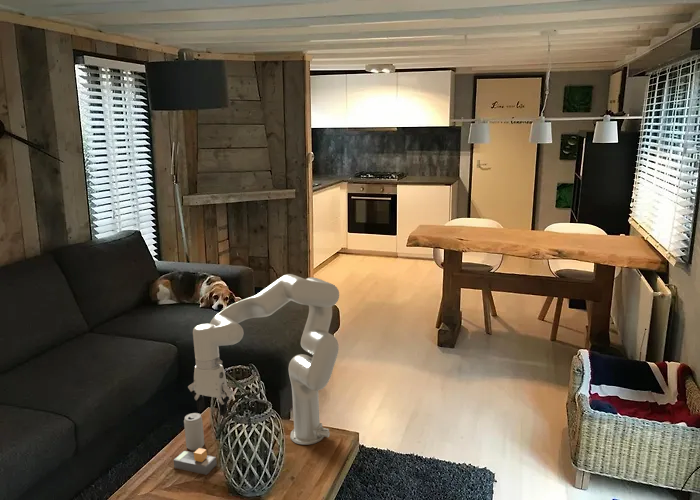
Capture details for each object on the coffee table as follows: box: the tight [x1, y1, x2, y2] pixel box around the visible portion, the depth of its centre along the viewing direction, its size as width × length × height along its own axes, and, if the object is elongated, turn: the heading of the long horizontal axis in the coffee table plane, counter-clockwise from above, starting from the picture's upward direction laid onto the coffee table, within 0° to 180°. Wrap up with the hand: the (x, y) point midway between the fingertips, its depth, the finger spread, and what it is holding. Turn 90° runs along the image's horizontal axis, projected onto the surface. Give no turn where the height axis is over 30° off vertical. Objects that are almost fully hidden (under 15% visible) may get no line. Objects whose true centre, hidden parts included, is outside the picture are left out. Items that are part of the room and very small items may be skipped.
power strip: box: [173, 450, 218, 476], centre depth 194 cm, size 13×6×3 cm, turn 69°
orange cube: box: [193, 447, 208, 462], centre depth 193 cm, size 3×3×3 cm
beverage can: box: [183, 412, 205, 451], centre depth 206 cm, size 6×6×12 cm
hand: (212, 411), depth 187 cm, fingers open, 8 cm apart
